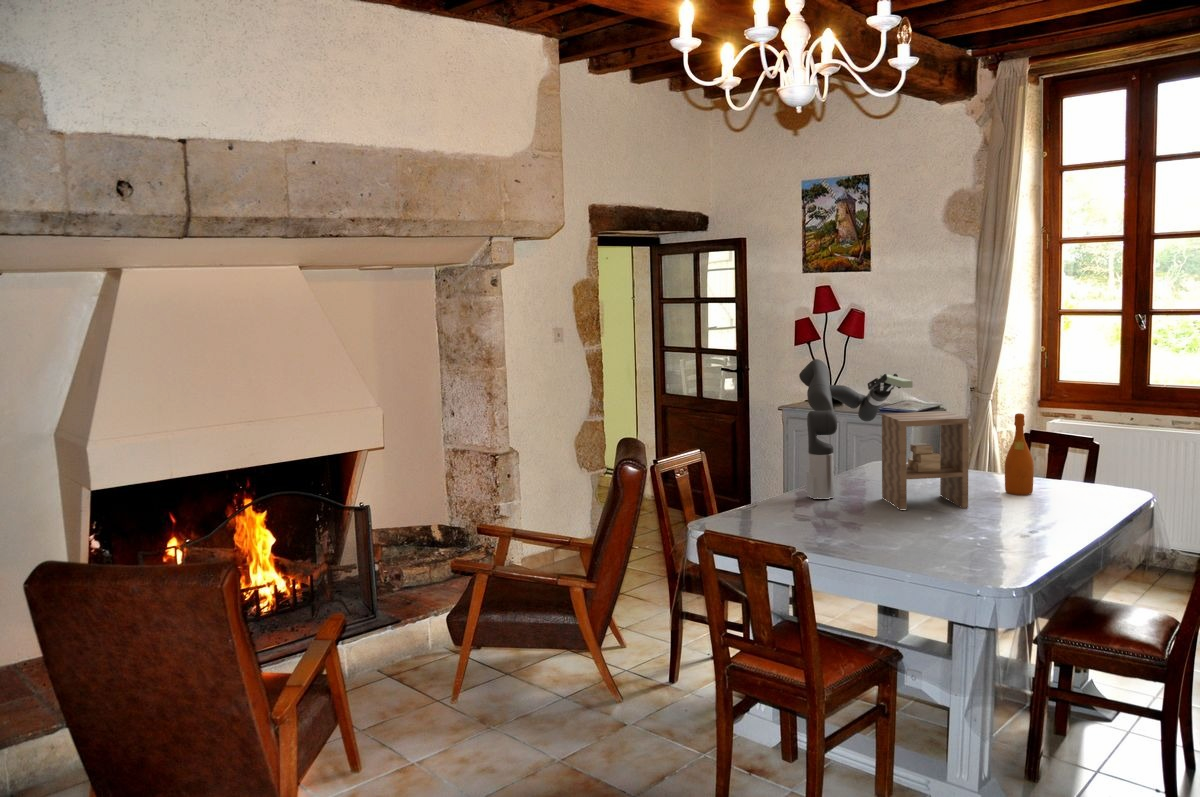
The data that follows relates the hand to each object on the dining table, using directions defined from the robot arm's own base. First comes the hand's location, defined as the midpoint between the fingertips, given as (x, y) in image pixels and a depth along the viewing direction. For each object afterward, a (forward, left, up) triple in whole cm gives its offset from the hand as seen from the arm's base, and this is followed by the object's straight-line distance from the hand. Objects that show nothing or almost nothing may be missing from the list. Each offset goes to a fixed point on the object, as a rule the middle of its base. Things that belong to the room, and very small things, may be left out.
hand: (891, 376), depth 374 cm
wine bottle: (+34, -32, -44) cm, 64 cm away
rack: (-6, -34, -43) cm, 55 cm away
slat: (-1, -5, -3) cm, 6 cm away
